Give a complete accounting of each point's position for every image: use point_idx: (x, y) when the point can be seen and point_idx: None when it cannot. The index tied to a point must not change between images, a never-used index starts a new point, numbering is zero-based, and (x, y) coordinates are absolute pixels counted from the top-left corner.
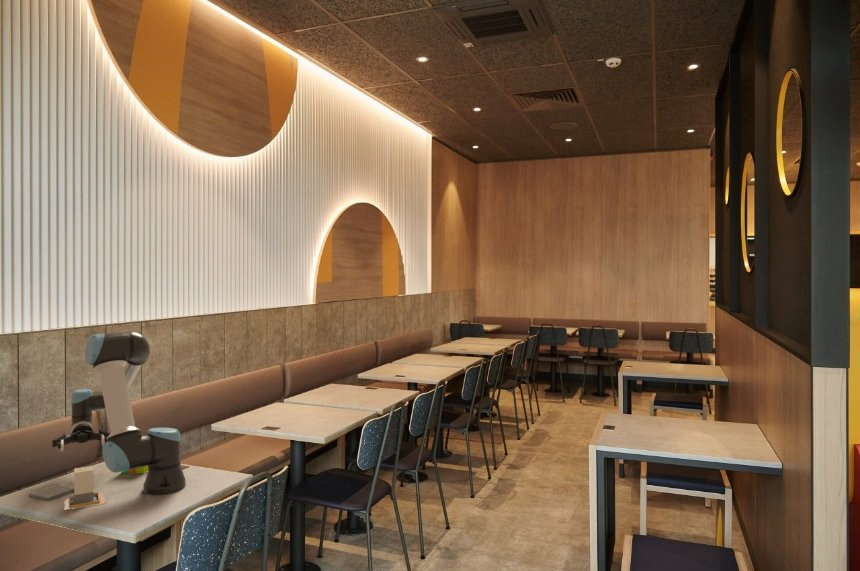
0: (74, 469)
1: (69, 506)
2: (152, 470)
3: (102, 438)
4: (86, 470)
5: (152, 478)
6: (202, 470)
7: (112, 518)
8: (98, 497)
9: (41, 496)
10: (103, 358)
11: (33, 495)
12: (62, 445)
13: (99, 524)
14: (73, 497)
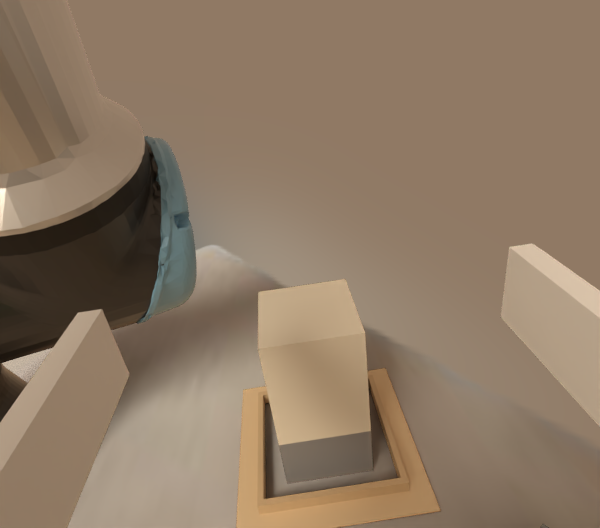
0: (358, 317)
1: (369, 376)
2: (1, 363)
3: (94, 317)
4: (290, 294)
5: (25, 383)
6: None
7: (236, 295)
8: (262, 426)
9: None
10: None
11: None
12: (515, 263)
13: (267, 277)
14: (384, 482)
